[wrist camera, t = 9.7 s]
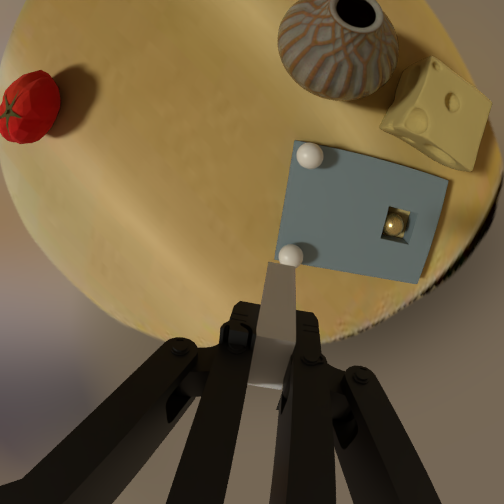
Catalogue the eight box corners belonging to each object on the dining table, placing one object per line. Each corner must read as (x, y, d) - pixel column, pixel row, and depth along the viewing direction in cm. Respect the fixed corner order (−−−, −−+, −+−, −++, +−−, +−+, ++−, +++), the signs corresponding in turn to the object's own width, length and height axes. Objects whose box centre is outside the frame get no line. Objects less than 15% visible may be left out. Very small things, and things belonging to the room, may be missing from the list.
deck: (294, 140, 36) (294, 140, 34) (440, 177, 35) (448, 180, 32) (275, 252, 42) (274, 259, 40) (411, 276, 41) (416, 284, 39)
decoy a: (298, 140, 34) (299, 140, 31) (323, 145, 33) (327, 145, 30) (294, 165, 35) (294, 167, 32) (319, 169, 35) (322, 172, 32)
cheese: (376, 129, 34) (403, 127, 25) (402, 65, 30) (432, 48, 20) (435, 165, 34) (472, 175, 25) (458, 104, 30) (497, 101, 21)
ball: (395, 216, 34) (410, 219, 35) (380, 208, 37) (396, 211, 38) (388, 239, 36) (404, 240, 36) (374, 230, 38) (390, 231, 39)
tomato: (33, 152, 40) (-8, 161, 31) (23, 98, 36) (-17, 99, 27) (79, 119, 38) (34, 122, 28) (67, 60, 34) (25, 54, 24)
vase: (355, 14, 28) (391, -48, 11) (389, 96, 32) (454, 75, 16) (266, 32, 31) (248, -32, 14) (299, 117, 35) (307, 100, 19)
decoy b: (281, 238, 39) (280, 247, 36) (305, 242, 38) (306, 252, 35) (277, 260, 40) (276, 270, 37) (300, 264, 40) (300, 275, 37)
